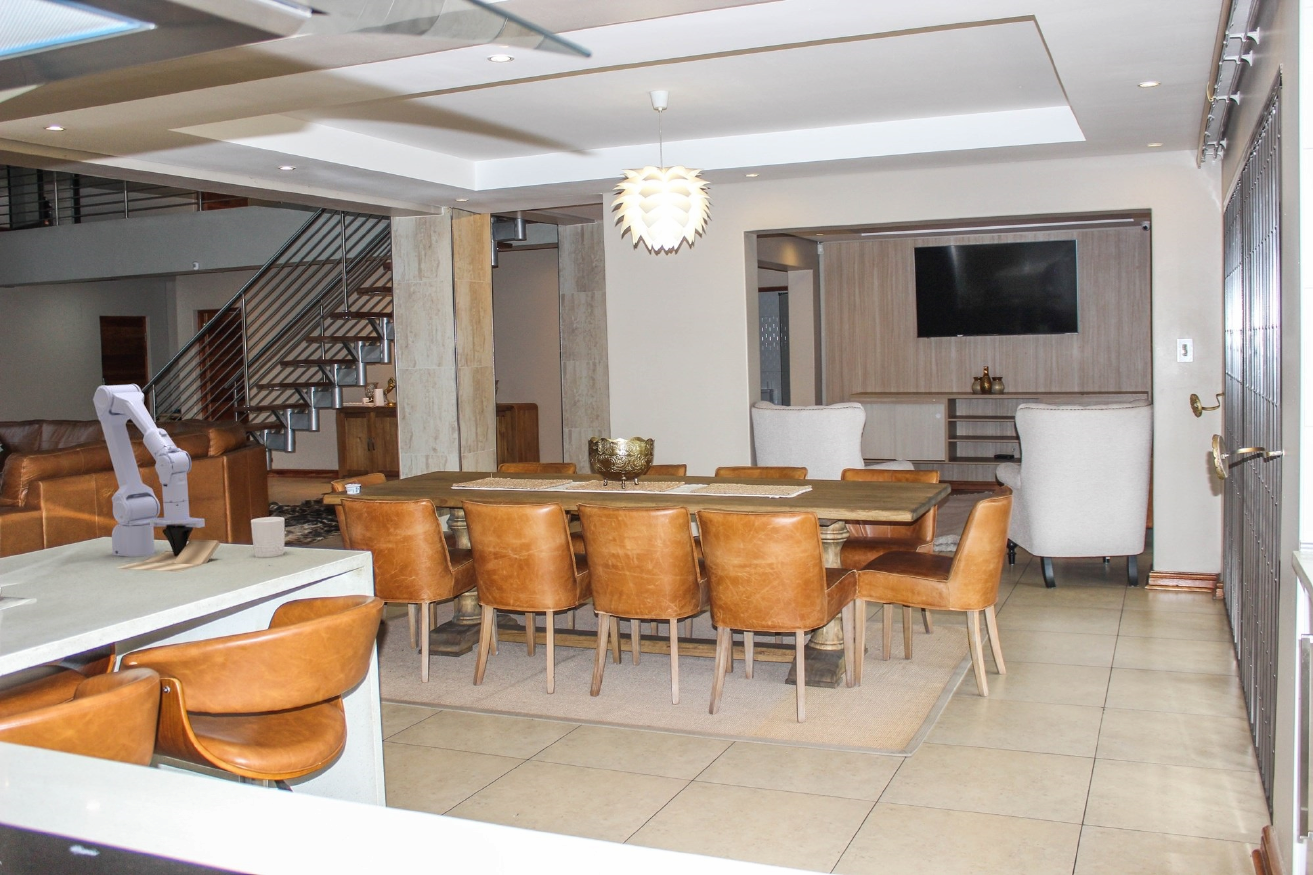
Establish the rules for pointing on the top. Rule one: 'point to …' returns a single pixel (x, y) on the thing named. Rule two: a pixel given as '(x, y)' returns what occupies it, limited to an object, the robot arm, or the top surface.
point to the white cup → (268, 536)
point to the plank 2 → (197, 552)
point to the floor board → (158, 566)
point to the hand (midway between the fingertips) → (179, 555)
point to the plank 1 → (163, 558)
